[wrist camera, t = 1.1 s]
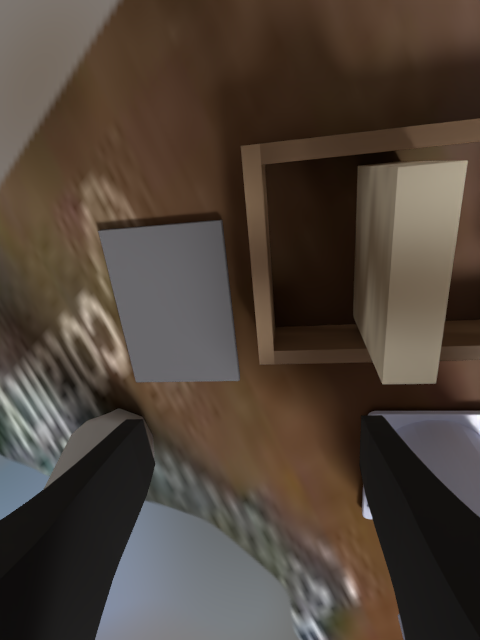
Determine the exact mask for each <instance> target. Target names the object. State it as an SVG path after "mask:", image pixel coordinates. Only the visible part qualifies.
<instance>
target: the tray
mask: <svg viewBox="0 0 480 640" xmlns="http://www.w3.org/2000/svg"><path fill="white" fill-rule="evenodd" d="M472 142H480V118H478V119H470V120H461V121H452V122H444V123H435V124H426V125H418V126H409V127H400V128H392V129H383V130H374V131H366V132H357V133H348V134H340V135H331V136H322V137H314V138H305V139H296V140H288V141H279V142H270V143H262V144H253V145H244V146H241V155H242V166H243V178H244V190H245V201H246V213H247V224H248V236H249V247H250V259H251V270H252V282H253V293H254V305H255V317H256V328H257V340H258V351H259V363H260V365H268V364H315V363H363V362H373V361H372V359H371V357H370V354H369V352H368V350H367V347H366V345H365V343H364V340H363V338H362V336H361V333H360V331H359V329H358V326H357V324H347V325H320V326H293V327H275V312H274V296H273V280H272V264H271V248H270V233H269V217H268V201H267V185H266V169H265V164H274V163H283V162H293V161H302V160H312V159H321V158H330V157H340V156H349V155H359V154H368V153H378V152H387V151H396V150H406V149H415V148H425V147H434V146H443V145H453V144H462V143H472ZM457 360H480V320H455V321H445V324H444V331H443V338H442V345H441V352H440V359H439V361H457Z"/></svg>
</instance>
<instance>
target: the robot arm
mask: <svg viewBox="0 0 480 640" xmlns="http://www.w3.org/2000/svg"><path fill="white" fill-rule="evenodd" d="M154 467H155V461H154V457H153V454H152V450H151V446H150V443H149V439H148V436H147V432H146V428H145V425H144V421H143V419H126V420H125V421H124V422H122V423H121V424H120V425H119V426H118V427H116V428H115V429H114V430H113V431H112V432H111V433H110V434H109V435H107V436H106V437H105V438H104V439H103V440H102V441H101V442H100V443H99V444H97V445H96V446H95V447H94V448H93V449H92V450H91V451H89V452H88V453H87V454H86V455H85V456H84V457H83V458H81V459H80V460H79V461H78V462H77V463H76V464H75V465H73V466H72V467H71V468H70V469H68V470H67V471H66V472H65V473H64V474H62V475H61V476H60V477H59V478H57V479H56V480H55V481H54V482H53V483H51V484H50V485H49V486H48V487H46V488H45V489H44V490H42V491H41V492H40V493H38V494H37V495H36V496H34V497H33V498H32V499H30V500H29V501H28V502H26V503H25V504H23V505H22V506H20V507H19V508H18V509H16V510H15V511H13V512H12V513H11V514H9V515H7V516H6V517H5V518H3V519H1V520H0V640H95V637H96V634H97V630H98V627H99V623H100V620H101V616H102V613H103V610H104V607H105V603H106V600H107V597H108V594H109V590H110V587H111V584H112V580H113V578H114V575H115V572H116V570H117V567H118V564H119V561H120V559H121V557H122V554H123V552H124V549H125V547H126V544H127V542H128V540H129V537H130V535H131V532H132V530H133V527H134V525H135V523H136V520H137V518H138V515H139V512H140V511H141V508H142V506H143V503H144V501H145V498H146V495H147V493H148V489H149V486H150V482H151V479H152V475H153V471H154ZM360 470H361V475H362V480H363V498H362V513H363V516H364V517H365V518H367V519H373V522H374V525H375V528H376V532H377V535H378V538H379V541H380V544H381V548H382V551H383V554H384V557H385V560H386V564H387V567H388V570H389V573H390V577H391V580H392V584H393V588H394V591H395V595H396V600H397V604H398V609H399V613H400V614H399V615H398V618H399V623H400V627H401V631H402V635H403V639H404V640H480V411H372V412H370V413H369V414H368V415H366V416H361V439H360Z"/></svg>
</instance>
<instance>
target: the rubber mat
mask: <svg viewBox="0 0 480 640" xmlns="http://www.w3.org/2000/svg"><path fill="white" fill-rule="evenodd" d="M98 232H99V236H100V240H101V244H102V248H103V252H104V256H105V260H106V264H107V268H108V272H109V276H110V280H111V284H112V288H113V292H114V296H115V300H116V304H117V308H118V312H119V316H120V320H121V324H122V328H123V332H124V336H125V340H126V344H127V348H128V352H129V356H130V360H131V364H132V368H133V372H134V376H135V380H136V382H188V381H239V380H240V373H239V364H238V355H237V346H236V337H235V328H234V320H233V311H232V302H231V293H230V284H229V276H228V267H227V258H226V249H225V240H224V232H223V223H222V220H212V221H200V222H189V223H177V224H165V225H153V226H141V227H129V228H117V229H106V230H100V231H98Z"/></svg>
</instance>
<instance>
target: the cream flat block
mask: <svg viewBox="0 0 480 640" xmlns="http://www.w3.org/2000/svg"><path fill="white" fill-rule="evenodd" d="M467 163H468V160H463V161H400V162H390V163H380V164H370V165H361V166H358V174H357V206H356V238H355V271H354V303H353V317H354V319H355V322H356V324H357V326H358V329H359V331H360V333H361V336H362V338H363V340H364V343H365V345H366V347H367V350H368V352H369V354H370V357H371V359H372V361H373V364H374V366H375V368H376V371H377V373H378V375H379V378H380V380H381V382H382V384H436V380H437V373H438V366H439V359H440V352H441V345H442V338H443V331H444V324H445V317H446V310H447V303H448V296H449V289H450V282H451V275H452V268H453V261H454V254H455V247H456V240H457V233H458V226H459V219H460V212H461V205H462V198H463V191H464V184H465V177H466V170H467Z"/></svg>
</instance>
